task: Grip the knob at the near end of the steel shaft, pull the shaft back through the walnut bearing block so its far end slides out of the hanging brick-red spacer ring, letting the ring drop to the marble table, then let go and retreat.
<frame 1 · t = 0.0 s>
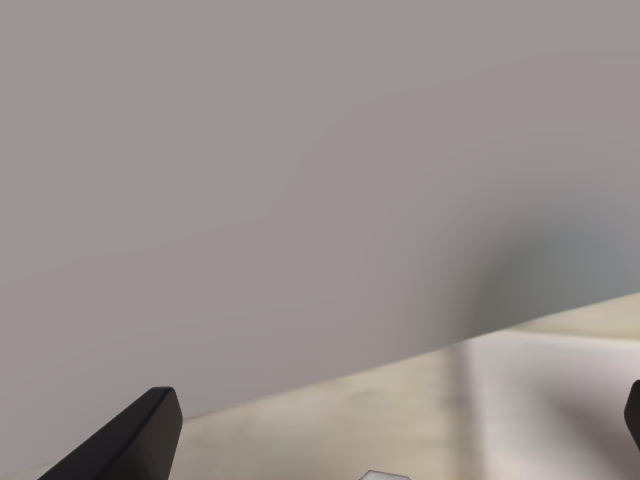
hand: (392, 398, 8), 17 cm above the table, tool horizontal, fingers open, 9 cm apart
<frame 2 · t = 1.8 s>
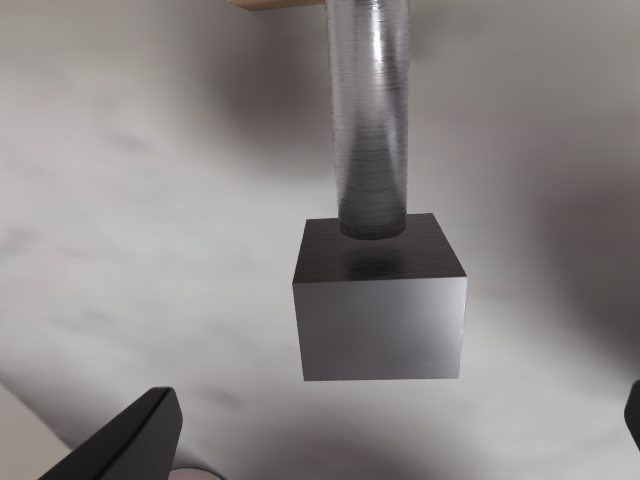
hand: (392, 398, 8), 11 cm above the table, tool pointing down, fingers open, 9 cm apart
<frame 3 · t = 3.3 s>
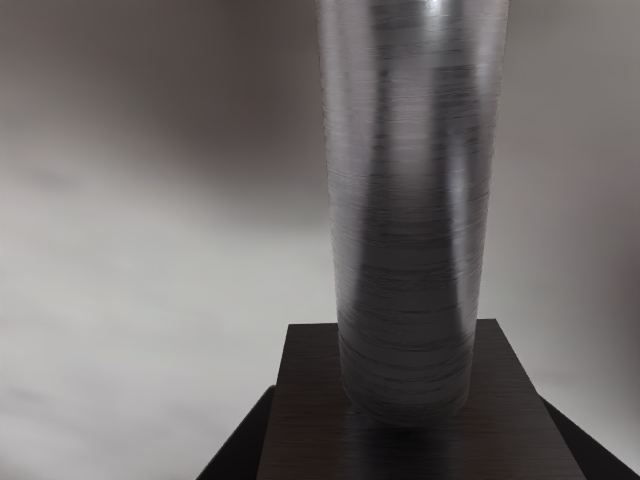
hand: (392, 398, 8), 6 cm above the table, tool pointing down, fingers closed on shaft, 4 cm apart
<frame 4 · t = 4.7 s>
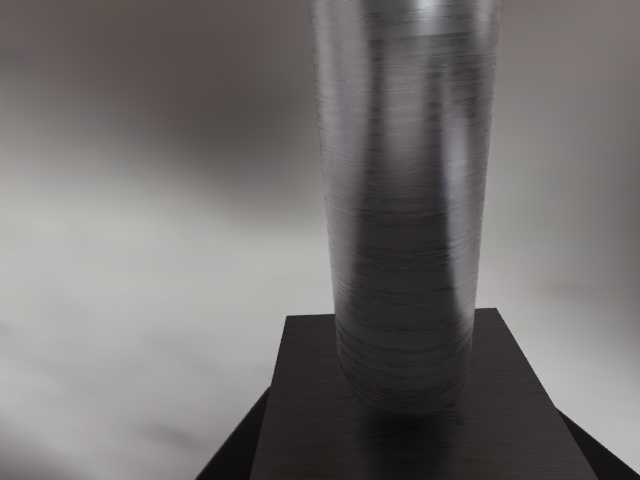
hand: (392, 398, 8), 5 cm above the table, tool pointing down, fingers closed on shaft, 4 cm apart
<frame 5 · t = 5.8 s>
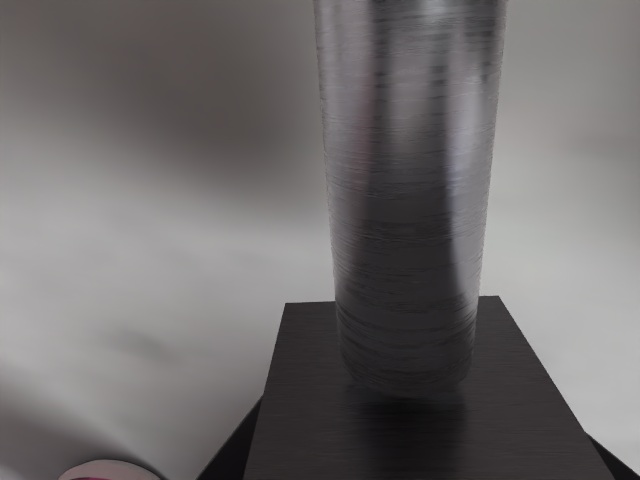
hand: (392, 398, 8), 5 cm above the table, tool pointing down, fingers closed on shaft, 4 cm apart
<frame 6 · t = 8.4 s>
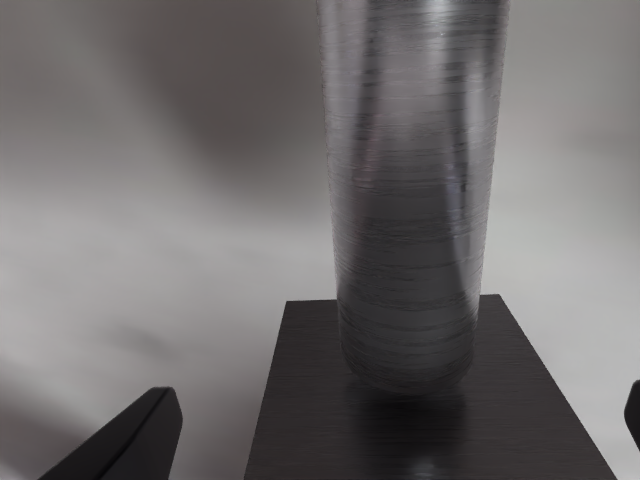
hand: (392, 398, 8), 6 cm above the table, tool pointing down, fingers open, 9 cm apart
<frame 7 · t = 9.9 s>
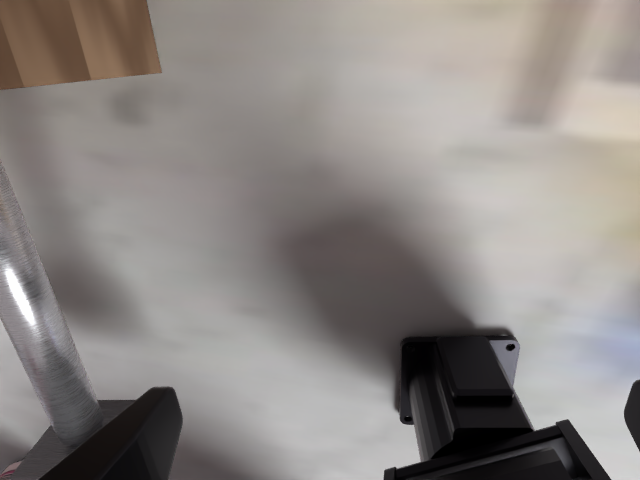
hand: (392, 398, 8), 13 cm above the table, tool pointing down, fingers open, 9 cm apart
beverage can: (46, 478, 31), on the table
bearing block: (58, 16, 17), on the table
shaft: (29, 308, 15), point 7 cm above the table, slide at 7.9 cm
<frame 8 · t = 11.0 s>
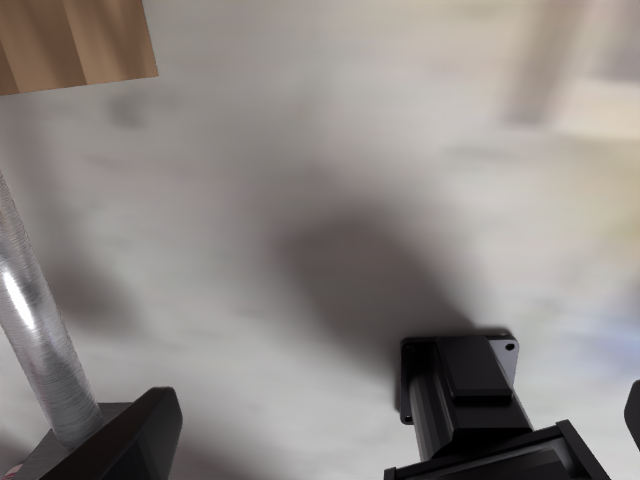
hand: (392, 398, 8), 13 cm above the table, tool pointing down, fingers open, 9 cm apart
bearing block: (55, 20, 17), on the table
shaft: (28, 312, 15), point 7 cm above the table, slide at 7.9 cm
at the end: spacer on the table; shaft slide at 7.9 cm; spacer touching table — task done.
